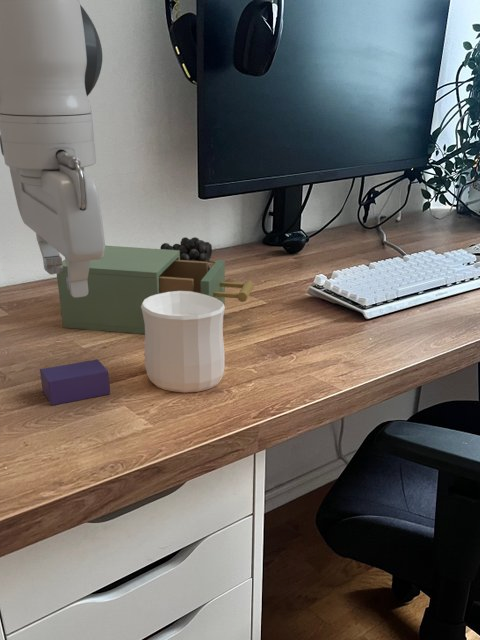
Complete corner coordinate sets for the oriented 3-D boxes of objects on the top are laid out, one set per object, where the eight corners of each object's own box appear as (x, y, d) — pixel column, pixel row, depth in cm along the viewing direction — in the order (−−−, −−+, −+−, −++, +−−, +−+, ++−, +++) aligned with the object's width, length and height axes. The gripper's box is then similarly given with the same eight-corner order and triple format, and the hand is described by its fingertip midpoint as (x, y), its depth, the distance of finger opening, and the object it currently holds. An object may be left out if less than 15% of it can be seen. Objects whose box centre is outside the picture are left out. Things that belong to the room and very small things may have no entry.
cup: (157, 360, 91) (154, 287, 86) (232, 366, 90) (233, 293, 85) (135, 389, 83) (129, 311, 78) (216, 397, 81) (216, 318, 77)
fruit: (122, 236, 112) (215, 234, 113) (128, 241, 120) (214, 239, 121) (125, 290, 114) (216, 288, 115) (131, 292, 122) (216, 290, 123)
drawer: (255, 309, 107) (256, 262, 103) (243, 334, 97) (244, 283, 94) (141, 300, 109) (138, 254, 106) (118, 324, 100) (114, 274, 96)
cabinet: (181, 308, 110) (179, 250, 105) (159, 335, 99) (156, 272, 94) (93, 301, 111) (88, 244, 107) (62, 327, 101) (55, 265, 96)
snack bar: (51, 405, 79) (48, 381, 77) (42, 392, 82) (39, 368, 80) (110, 394, 82) (108, 370, 80) (100, 381, 85) (97, 358, 83)
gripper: (114, 156, 62) (126, 306, 68) (53, 134, 77) (68, 258, 84) (43, 160, 59) (63, 315, 66) (-5, 136, 74) (15, 264, 81)
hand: (65, 283), depth 75 cm, fingers open, 8 cm apart
